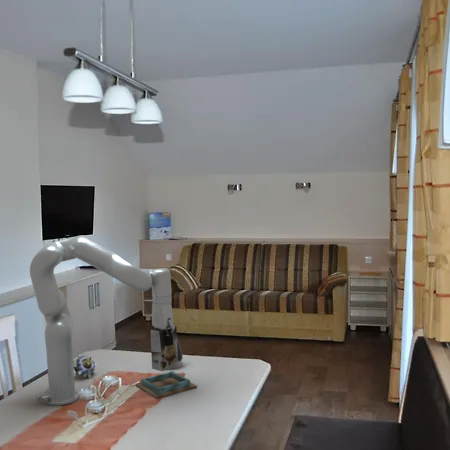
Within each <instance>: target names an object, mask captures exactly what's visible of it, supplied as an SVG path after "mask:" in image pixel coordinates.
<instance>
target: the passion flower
mask: <svg viewBox="0 0 450 450" xmlns="http://www.w3.org/2000/svg"><path fill="white" fill-rule="evenodd" d="M97 365H98V363H97V362H96V361H94V358H92V357H91V356H90V357H89V355H88V354H85V355H81V353H77V359H76V360H73V367H74V372H75V374H76V376H80V375H81V376H82V378H84V379H85V378H88V379H89V378H90V379H91V378H92V373H93V374H96V373H97V371H96V370H95V369H96V367H97Z"/></svg>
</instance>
